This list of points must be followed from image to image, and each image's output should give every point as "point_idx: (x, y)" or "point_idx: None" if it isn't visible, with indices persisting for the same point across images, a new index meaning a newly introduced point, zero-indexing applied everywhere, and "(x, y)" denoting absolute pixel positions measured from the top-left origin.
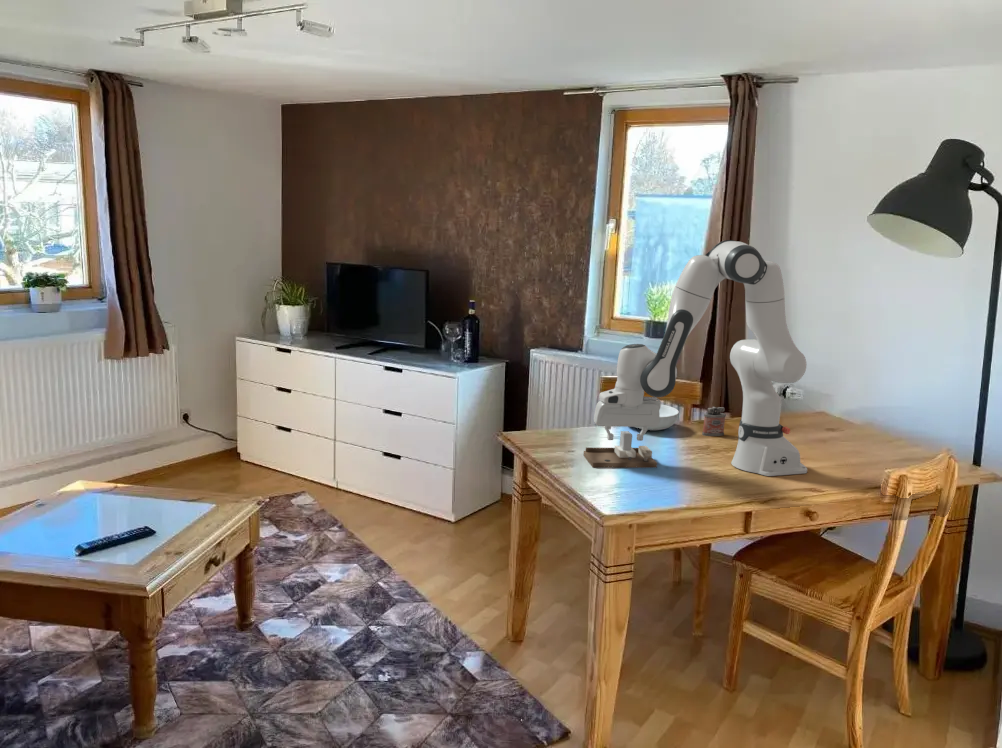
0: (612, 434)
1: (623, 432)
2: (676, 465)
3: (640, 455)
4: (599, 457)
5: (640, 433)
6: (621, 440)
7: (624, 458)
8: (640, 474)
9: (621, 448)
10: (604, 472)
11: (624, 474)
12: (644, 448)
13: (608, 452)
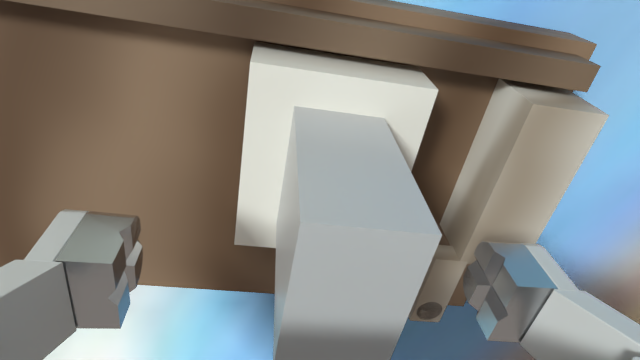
0: (105, 309)
1: (312, 288)
2: (600, 259)
3: (457, 162)
4: (56, 171)
5: (553, 316)
6: (286, 206)
7: None
8: None
9: (284, 175)
10: None
11: (199, 350)
12: (520, 193)
13: (187, 35)
